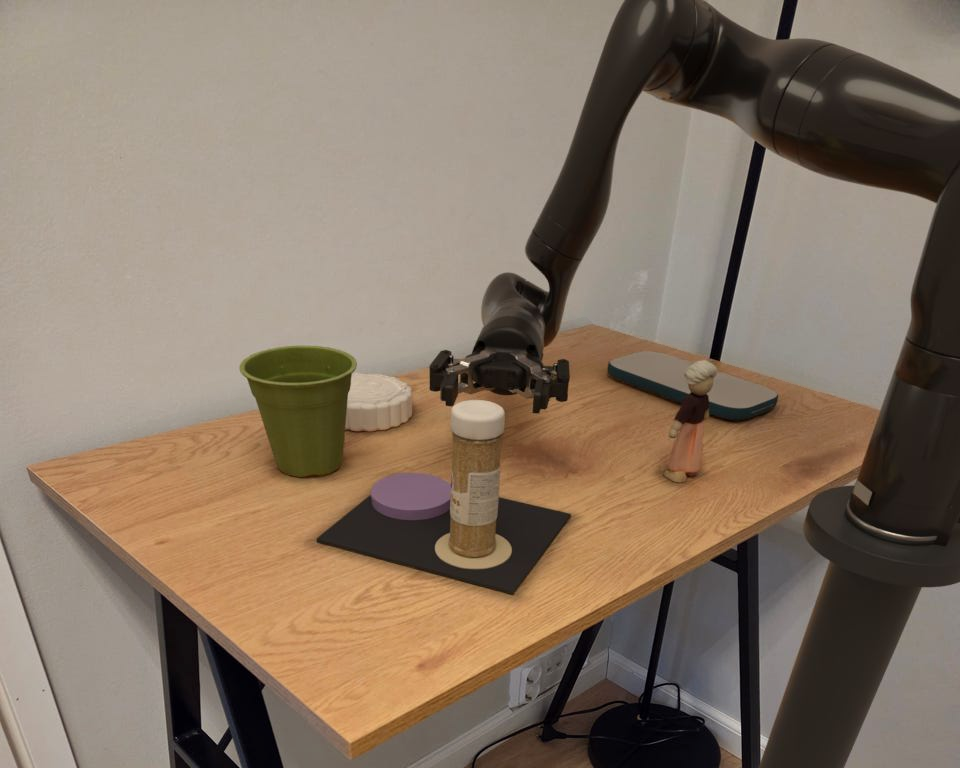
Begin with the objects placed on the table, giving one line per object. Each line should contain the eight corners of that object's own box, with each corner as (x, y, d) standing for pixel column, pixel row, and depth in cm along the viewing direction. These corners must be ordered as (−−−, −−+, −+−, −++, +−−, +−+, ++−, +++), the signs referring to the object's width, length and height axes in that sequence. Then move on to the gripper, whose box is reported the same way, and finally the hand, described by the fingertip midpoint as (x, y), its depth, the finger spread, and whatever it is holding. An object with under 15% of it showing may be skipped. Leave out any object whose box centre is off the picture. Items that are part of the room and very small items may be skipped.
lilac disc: (466, 493, 85) (466, 482, 85) (431, 528, 79) (431, 517, 79) (395, 476, 88) (395, 466, 87) (355, 509, 82) (355, 498, 81)
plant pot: (272, 439, 95) (260, 341, 89) (372, 447, 95) (367, 349, 88) (238, 484, 86) (221, 378, 79) (348, 493, 85) (341, 387, 79)
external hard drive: (597, 376, 118) (599, 362, 117) (648, 361, 124) (650, 347, 123) (735, 427, 104) (739, 412, 103) (784, 408, 110) (788, 393, 109)
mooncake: (362, 441, 96) (360, 411, 94) (296, 413, 102) (294, 385, 100) (432, 414, 104) (432, 386, 101) (367, 390, 110) (366, 363, 108)
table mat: (570, 517, 83) (571, 512, 83) (512, 595, 71) (513, 590, 71) (396, 476, 89) (396, 472, 89) (316, 542, 77) (316, 537, 77)
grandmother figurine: (688, 489, 89) (712, 374, 81) (654, 481, 90) (675, 366, 83) (708, 465, 94) (733, 354, 87) (676, 457, 96) (698, 347, 88)
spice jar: (443, 537, 78) (445, 399, 70) (489, 532, 79) (496, 396, 71) (454, 561, 74) (458, 419, 66) (502, 556, 75) (511, 416, 67)
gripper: (447, 310, 90) (419, 355, 77) (576, 319, 89) (570, 367, 76) (446, 378, 95) (420, 431, 82) (569, 387, 93) (562, 443, 80)
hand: (492, 400), depth 79 cm, fingers open, 8 cm apart
